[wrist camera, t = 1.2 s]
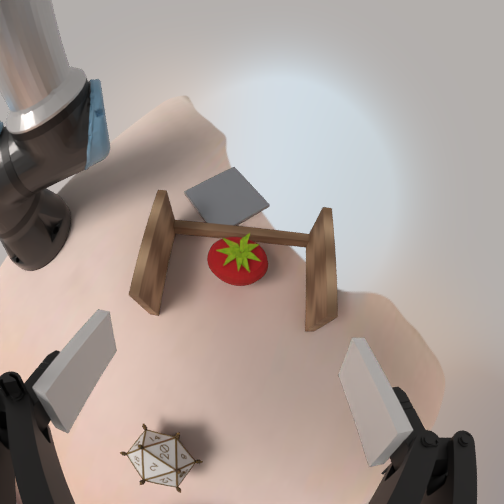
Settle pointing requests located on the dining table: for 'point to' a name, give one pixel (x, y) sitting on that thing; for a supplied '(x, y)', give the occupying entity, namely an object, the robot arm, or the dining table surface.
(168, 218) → the wooden crossbar stand
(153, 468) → the game die
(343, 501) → the dining table surface
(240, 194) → the pad
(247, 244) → the strawberry
